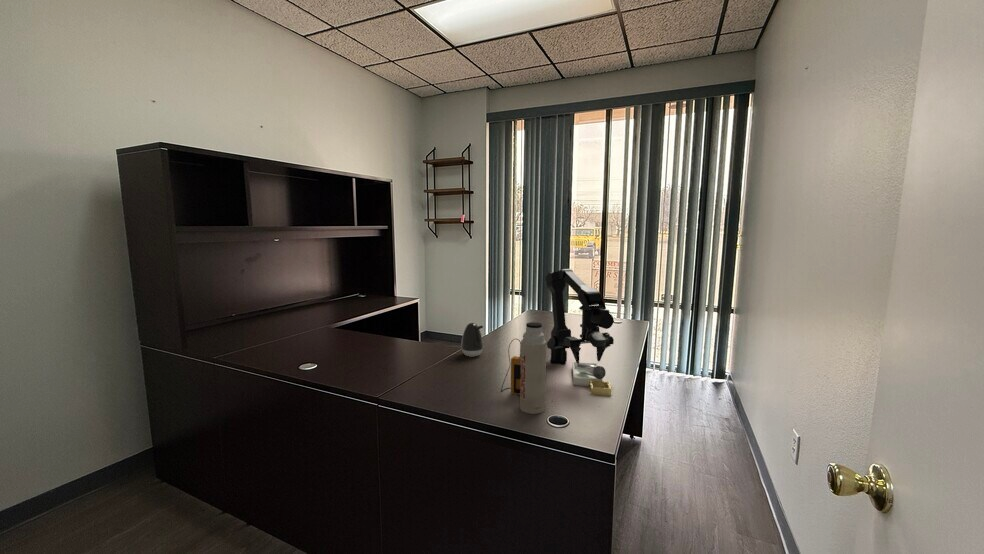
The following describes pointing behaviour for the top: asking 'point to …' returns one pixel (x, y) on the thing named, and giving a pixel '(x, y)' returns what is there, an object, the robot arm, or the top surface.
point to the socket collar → (600, 388)
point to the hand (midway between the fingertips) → (588, 362)
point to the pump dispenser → (472, 340)
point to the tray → (582, 376)
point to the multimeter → (515, 373)
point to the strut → (591, 370)
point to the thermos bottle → (533, 369)
